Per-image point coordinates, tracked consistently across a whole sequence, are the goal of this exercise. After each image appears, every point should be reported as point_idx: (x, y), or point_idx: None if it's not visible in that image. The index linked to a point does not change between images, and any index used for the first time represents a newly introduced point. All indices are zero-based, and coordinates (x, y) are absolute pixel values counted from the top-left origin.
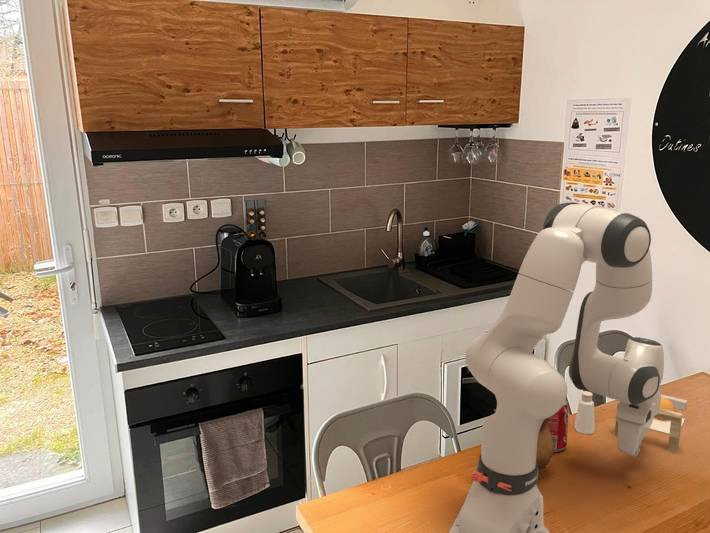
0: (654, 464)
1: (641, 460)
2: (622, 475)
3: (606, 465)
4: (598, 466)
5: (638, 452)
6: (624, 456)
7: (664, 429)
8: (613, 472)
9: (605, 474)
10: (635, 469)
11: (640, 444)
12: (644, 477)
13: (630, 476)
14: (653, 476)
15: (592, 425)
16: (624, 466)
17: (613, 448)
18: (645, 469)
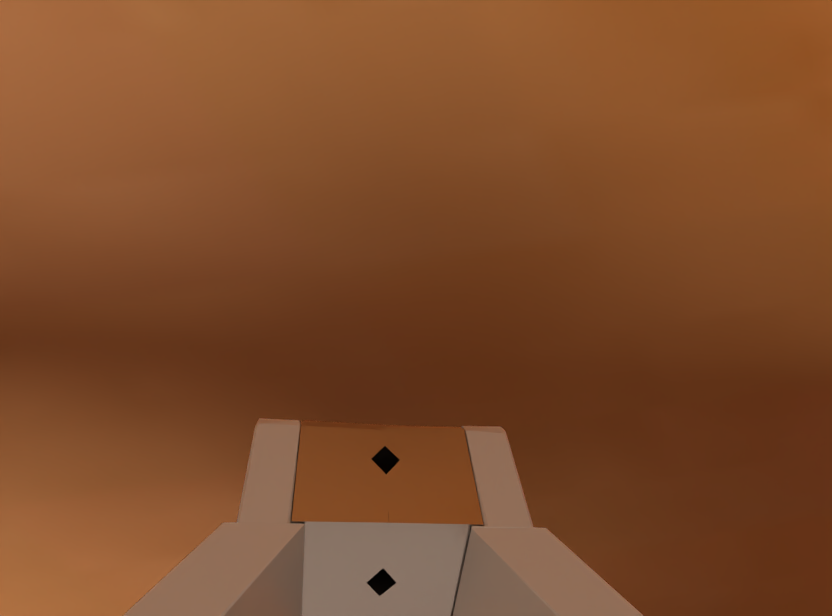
0: (196, 45)
1: (203, 261)
2: (777, 399)
3: (598, 561)
4: (654, 606)
5: (376, 438)
6: (246, 461)
7: None
8: (735, 484)
9: (806, 533)
10: (547, 294)
11: (261, 559)
12: (746, 148)
13: (775, 319)
14: (664, 12)
15: None
16: (529, 418)
17: (122, 584)
18: (475, 167)
